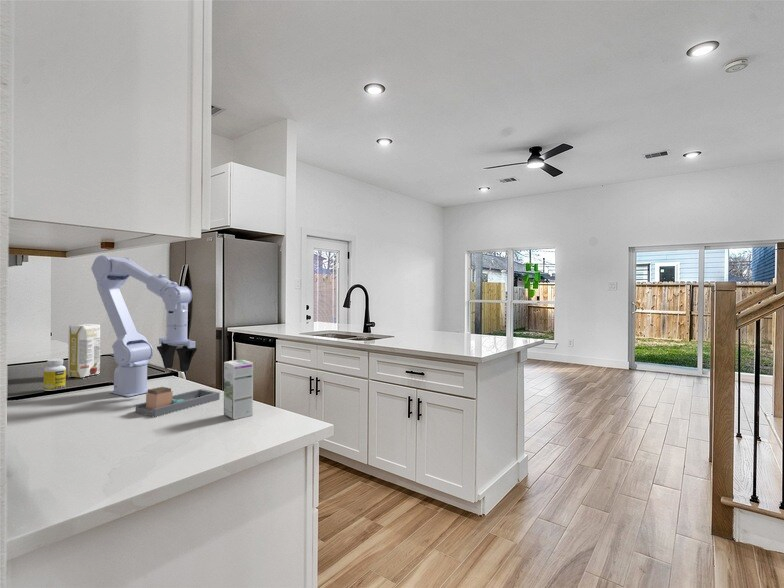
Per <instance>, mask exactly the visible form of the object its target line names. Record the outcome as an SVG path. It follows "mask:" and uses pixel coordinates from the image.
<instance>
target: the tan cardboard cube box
mask: <svg viewBox="0 0 784 588" xmlns="http://www.w3.org/2000/svg"><path fill="white" fill-rule="evenodd" d="M148 389H149V390H148V392H147V393H145V394H146V395H145V402H146V408H150V409H155V408H159V407H163V406H166V405H170V404H172V396H173V395H174V394H173V392H174V391H172V388H170V387H165V386H158V387H154V388H148Z"/></svg>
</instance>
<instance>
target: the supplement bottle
mask: <svg viewBox="0 0 784 588" xmlns="http://www.w3.org/2000/svg"><path fill="white" fill-rule="evenodd" d="M63 364H64V359H63V358H53V359H51V358H50V359H47V361H46V365H47V366H46V367H44V368H43V388H44V389H56V388H62V387H65V388H66V386H67V385H66V380H67V379H66V377H67V368H66V366H65V365H63Z"/></svg>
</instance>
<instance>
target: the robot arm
mask: <svg viewBox="0 0 784 588" xmlns="http://www.w3.org/2000/svg"><path fill="white" fill-rule="evenodd" d="M90 268H91V272H92V274H93V277H94V279H95V282H96V287H97V291H98V293H99V296H100V299H101V301H102V303H103V306H104V309H105V310H106V313H107V316H108V318H109V321H110V323H111V325H112V328H113V330H114V331H113V332H114V333H115V335H116V340H115V341H114V342H113V343H112V344H111V347H112V350H113V358H114V359H113V360H114V361H115V363H116V364H117V365H118V366H116V368H115V369H114V372H113V390H111V391H110V394H114V395H115V394H116V395H118V396H122V397H128V398H129V397H133V396H139V395H143V394H146V393H147V392H148V390H149V389H150V388H148V364H150V360H151V359H152V358H153V356H154V348H153V346H152V344H151V343H150V342H149V341H148V340H147V338H146V336H145V335H143V334H141V333H139V332H138V331H137V328H136V326H135V324H134V321H133V319H132V316H131V314H130V311H129V309H128V307H127V304H126V302H125V300H124V297H123V295H122V292H121V289H120V288H121V286H123V285H124V284H125V283H126V282H127V280H128V279H130V278H129V277H132V278H133V279H135V280H138V281H139V282H141V283H144V284H145V286H146V289H147V290H148V291H150V292H151V293H153V294H155V295H156V296H158V297H160V298H161V299H162V301H163V303H164V305H165V306H164V307H165V308H164V309H165V310H166V327H165V328H166V330H165V331H166V332H165V333H166V337H160V338H159V339H158V346H156V350H157V351H158V352H159V355H160V357H161V360H162V363H163V368H164V369H167V370H169V369H172V368H173V366H174V358H175V352H176V353H177V356H178V360H179V369H180V372H188V371H189V369H190V365H191V362H192V360H193V357H194V355H195V353H196V352H197V350H198V348H197V347H196V341H195V340H192V339H188V321H189V319H188V317H189V316H188V314H189V313H188V312H189V304H190V303H191V301H192V299H193V292H192V290H191V289H190V288H189V287H188V286H187V285H181V286H179V285H178V282H176V281H171V280H170V279H169V278H167V275H165V274H163V273H162V274H157V273H156V274H152V273H151V272H150V271H148V270H146V269H145V268H143V267H142V266H141V265H139V264H137V262H136V261H135V260H133V259H130V258H129V257H117V256H106V255H99V256H97V257H96V258H95V259H94V261H93V263H92V265H91V267H90ZM178 347H179V348H178Z"/></svg>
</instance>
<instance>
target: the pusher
mask: <svg viewBox="0 0 784 588" xmlns="http://www.w3.org/2000/svg"><path fill="white" fill-rule="evenodd" d="M182 401H186V400H183V399H179V400H176V399H172V404H174V403H178V402H182Z"/></svg>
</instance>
